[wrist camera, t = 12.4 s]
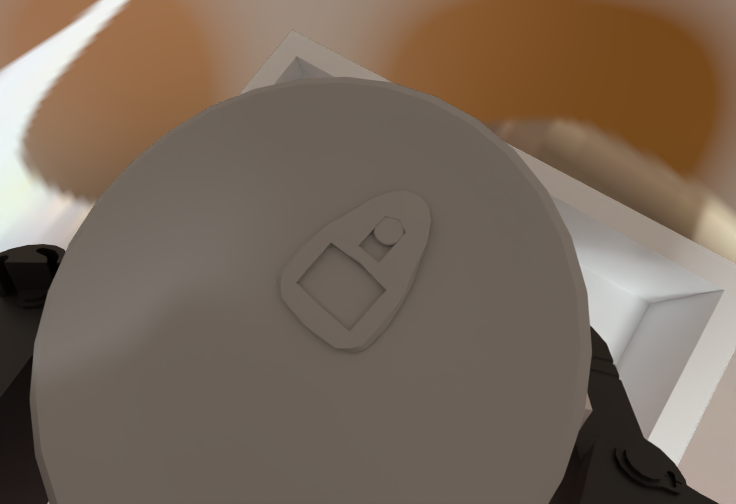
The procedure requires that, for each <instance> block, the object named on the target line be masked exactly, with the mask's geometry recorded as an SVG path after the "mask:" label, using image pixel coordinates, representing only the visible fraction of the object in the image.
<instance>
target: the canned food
mask: <svg viewBox="0 0 736 504" xmlns="http://www.w3.org/2000/svg"><path fill="white" fill-rule="evenodd" d="M591 357H592V345H591V332H590V319H589V306H588V293H587V289H586V286H585V282H584V279H583V275H582V272H581V268H580V264H579V261H578V257H577V254H576V250H575V247H574V243H573V240H572V237H571V235H570V233H569V231H568V229H567V227H566V225H565V223H564V222H563V220H562V218H561V216H560V214H559V212H558V210H557V208H556V206H555V204H554V202H553V200H552V198H551V197H550V195H549V193H548V191H547V189H546V188H545V187H544V186H543V184H542V183H541V182H540V181H539V179H538V178H537V177H536V176H535V174H534V173H533V172H532V171H531V169H530V168H529V167H528V166H527V164H526V163H525V162H524V161H523V160H522V158H521V157H520V156H519V155H518V153H517V152H516V151H515V150H514V149H513V148H512V147H510V146H509V145H508V144H507V143H506V142H504V141H503V140H502V139H501V138H500V137H498V136H497V135H496V134H495V133H494V132H492V131H491V130H490V129H489V128H488V127H486V126H485V125H484V124H483V123H481V122H480V121H479V120H478V119H476V118H474V117H473V116H471V115H469V114H467V113H465V112H463V111H462V110H460V109H458V108H456V107H454V106H452V105H450V104H449V103H447V102H445V101H443V100H441V99H439V98H437V97H435V96H433V95H429V94H426V93H423V92H420V91H417V90H414V89H411V88H407V87H404V86H401V85H398V84H395V83H392V82H384V81H376V80H369V79H361V78H353V77H328V78H308V79H297V80H293V81H288V82H283V83H279V84H274V85H270V86H265V87H261V88H256V89H253V90H250V91H248V92H245V93H243V94H240V95H238V96H235V97H233V98H230V99H228V100H225V101H223V102H220V103H218V104H216V105H213V106H210V107H209V108H207V109H205V110H204V111H202V112H200V113H199V114H197V115H195V116H194V117H192V118H190V119H189V120H187V121H185V122H183V123H182V124H180V125H178V126H177V127H175V128H173V129H172V130H170V131H169V132H167V133H166V134H165V135H164V136H163V137H161V138H160V139H159V140H158V141H156V142H155V143H154V144H153V145H152V146H150V147H149V148H148V149H147V150H146V151H145V152H143V153H142V154H141V155H140V156H138V157H137V158H136V159H135V160H134V161H132V162H131V163H130V164H129V165H128V167H127V168H126V169H125V170H124V171H123V172H122V173H121V174H120V175H119V177H118V178H117V179H116V180H115V181H114V182H113V183H112V184H111V186H110V187H109V188H108V189H107V190H106V191H105V192H104V193H103V195H102V196H101V197H100V198H99V199H98V200H97V202H96V203H95V205H94V206H93V208H92V209H91V211H90V213H89V214H88V216H87V217H86V219H85V220H84V222H83V223H82V225H81V226H80V228H79V230H78V231H77V233H76V234H75V236H74V237H73V239H72V240H71V242H70V243H69V246H68V248H67V250H66V252H65V255H64V257H63V259H62V261H61V264H60V266H59V268H58V270H57V273H56V275H55V277H54V279H53V282H52V284H51V286H50V288H49V291H48V294H47V298H46V301H45V305H44V309H43V313H42V317H41V320H40V324H39V328H38V332H37V336H36V339H35V343H34V353H33V365H32V377H31V388H30V409H31V419H32V430H33V440H34V450H35V457H36V461H37V464H38V467H39V470H40V474H41V477H42V480H43V484H44V487H45V490H46V494H47V497H48V500H49V503H50V504H548V503H549V502H550V500H551V498H552V497H553V495H554V493H555V491H556V490H557V488H558V486H559V485H560V483H561V481H562V479H563V477H564V474H565V471H566V468H567V465H568V462H569V459H570V456H571V453H572V450H573V447H574V444H575V441H576V438H577V435H578V432H579V429H580V426H581V423H582V421H583V418H584V414H585V405H586V397H587V389H588V381H589V373H590V365H591Z"/></svg>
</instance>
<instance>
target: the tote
mask: <svg viewBox="0 0 736 504" xmlns="http://www.w3.org/2000/svg"><path fill="white" fill-rule="evenodd" d="M328 77H353V78H361V79H369V80H376V81H384V82H391V81H388V80H387V79H385V78H383V77H381V76H379V75H377V74H375V73H373V72H371V71H370V70H368V69H366V68H364V67H362V66H360V65H358V64H356V63H354V62H353V61H351V60H349V59H347V58H345V57H343V56H341V55H339V54H337V53H336V52H334V51H332V50H330V49H328V48H326V47H324V46H322V45H320V44H319V43H317V42H315V41H313V40H311V39H309V38H307V37H305V36H304V35H302V34H300V33H298V32H296V31H294V30H292V31H291V32H290V33H289V34H288V35H287V36H286V38H285V39H284V40H283V41H282V43H281V44H280V45H279V46H278V47H277V49H276V50H275V51H274V52H273V53H272V55H271V56H270V57H269V58H268V60H267V61H266V62H265V63H264V64H263V66H262V67H261V68H260V69H259V70H258V72H257V73H256V74H255V75H254V77H253V78H252V79H251V80H250V81H249V83H248V84H247V85H246V86H245V88H244V89H243V90H242V91H241V92H240V94H243V93H245V92H248V91H250V90H253V89H256V88H261V87H265V86H270V85H274V84H279V83H283V82H288V81H293V80H297V79H308V78H328ZM240 94H239V95H240ZM507 144H508V143H507ZM508 145H509V146H510V147H512V148H513V149H514V150H515V151H516V152H517V153H518V155H519V156H520V157H521V158H522V160H523V161H524V162H525V163H526V164H527V166H528V167H529V168H530V169H531V171H532V172H533V173H534V174H535V176H536V177H537V178H538V179H539V181H540V182H541V183H542V184H543V186H544V187H545V188H546V189H547V191H548V193H549V195H550V197H551V198H552V200H553V202H554V204H555V206H556V208H557V210H558V212H559V214H560V216H561V218H562V220H563V222H564V223H565V225H566V227H567V229H568V231H569V233H570V235H571V237H572V240H573V243H574V247H575V250H576V254H577V257H578V261H579V264H580V268H581V272H582V275H583V279H584V282H585V286H586V289H587V293H588V306H589V319H590V326H592V327H593V328H594V330H595V331H596V332H597V333H598V334H599V335H600V336H601V338H602V339H603V340H604V341H605V342H606V343H607V345H608V348H609V351H610V353H611V356H612V358H613V361H614V362H613V364H614V365H615V366H616V368H617V371H618V373H619V380H621V381H622V383H623V386H624V388H625V391H626V393H627V396H628V398H629V401H630V403H631V406H632V408H633V411H634V414H635V416H636V419H637V421H638V424H639V426H640V429H641V431H642V434H643V436H644V438H645V439H647V440H648V441H650V442H651V443H653V444H654V445H656V446H657V447H658V448H660V449H661V450H662V451H663V452H664V453H665V454H666V455H667V456H668V457H669V458H670V459H671V460H672V461H673V462H674V463H675V464H676V466H678V464H679V462H680V460H681V458H682V456H683V454H684V452H685V450H686V448H687V446H688V444H689V442H690V440H691V438H692V436H693V434H694V432H695V429H696V427H697V425H698V423H699V421H700V419H701V417H702V415H703V413H704V411H705V409H706V407H707V405H708V403H709V401H710V399H711V397H712V395H713V393H714V391H715V389H716V387H717V385H718V383H719V381H720V379H721V377H722V375H723V373H724V371H725V369H726V367H727V365H728V363H729V361H730V359H731V357H732V355H733V353H734V351H735V349H736V264H735V263H733V262H731V261H729V260H727V259H726V258H724V257H722V256H720V255H718V254H716V253H714V252H712V251H710V250H708V249H707V248H705V247H703V246H701V245H699V244H697V243H695V242H693V241H691V240H690V239H688V238H686V237H684V236H682V235H680V234H678V233H676V232H674V231H673V230H671V229H669V228H667V227H665V226H663V225H661V224H659V223H657V222H655V221H654V220H652V219H650V218H648V217H646V216H644V215H642V214H640V213H638V212H637V211H635V210H633V209H631V208H629V207H627V206H625V205H623V204H621V203H620V202H618V201H616V200H614V199H612V198H610V197H608V196H606V195H604V194H603V193H601V192H599V191H597V190H595V189H593V188H591V187H589V186H587V185H585V184H584V183H582V182H580V181H578V180H576V179H574V178H572V177H570V176H568V175H567V174H565V173H563V172H561V171H559V170H557V169H555V168H553V167H551V166H550V165H548V164H546V163H544V162H542V161H540V160H538V159H536V158H534V157H532V156H531V155H529V154H527V153H525V152H523V151H521V150H519V149H517V148H515V147H514V146H512V145H510V144H508Z"/></svg>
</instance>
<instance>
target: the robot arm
mask: <svg viewBox="0 0 736 504" xmlns="http://www.w3.org/2000/svg"><path fill="white" fill-rule="evenodd" d="M64 255H65V250H64V249H62V248H60V247H58V246H54V245H46V244H38V245H26V246H21V247H17V248H12V249H9V250H6V251H4V252H1V253H0V504H47V503H48V501H49V500H48V497H47V494H46V490H45V487H44V484H43V480H42V477H41V474H40V470H39V467H38V464H37V461H36V457H35V450H34V440H33V430H32V419H31V409H30V388H31V377H32V365H33V353H34V343H35V339H36V336H37V332H38V328H39V324H40V320H41V317H42V313H43V309H44V305H45V301H46V298H47V294H48V291H49V288H50V286H51V284H52V282H53V279H54V277H55V275H56V273H57V270H58V268H59V266H60V264H61V261H62V259H63V257H64ZM590 332H591V345H592V357H591V365H590V373H589V381H588V389H587V397H586V405H585V414H584V418H583V421H582V423H581V426H580V429H579V432H578V435H577V438H576V441H575V444H574V447H573V450H572V453H571V456H570V459H569V462H568V465H567V468H566V471H565V474H564V477H563V479H562V481H561V483H560V485H559V486H558V488H557V490H556V491H555V493H554V495H553V497H552V498H551V500H550V502H549V503H548V504H718V503H717V502H715V501H713V500H711V499H709V498H707V497H706V496H704V495H702V494H700V493H698V492H697V491H695V490H694V489H692V488H690V487H689V486H687V484H686V480H685V479H684V477H683V475H682V474H681V472H680V471H679V469H678V467H677V466H676V464H675V463H674V462H673V461H672V460H671V459H670V458H669V457H668V456H667V455H666V454H665V453H664V452H663V451H662V450H661V449H660V448H658V447H657V446H656V445H654V444H653V443H651V442H650V441H648V440H647V439H645V438H644V436H643V434H642V431H641V429H640V426H639V424H638V421H637V419H636V416H635V414H634V411H633V408H632V406H631V403H630V401H629V398H628V396H627V393H626V391H625V388H624V386H623V383H622V381H621V380H619V373H618V371H617V368H616V366H615V365H614V364H613V362H614V361H613V358H612V356H611V353H610V351H609V348H608V345H607V343H606V342H605V341H604V340H603V339H602V338H601V336H600V335H599V334H598V333H597V332H596V331H595V330H594V328H593V327H592V326H590Z"/></svg>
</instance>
